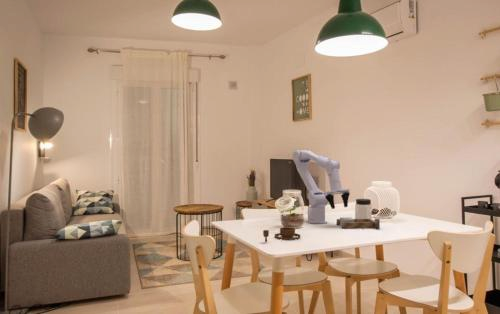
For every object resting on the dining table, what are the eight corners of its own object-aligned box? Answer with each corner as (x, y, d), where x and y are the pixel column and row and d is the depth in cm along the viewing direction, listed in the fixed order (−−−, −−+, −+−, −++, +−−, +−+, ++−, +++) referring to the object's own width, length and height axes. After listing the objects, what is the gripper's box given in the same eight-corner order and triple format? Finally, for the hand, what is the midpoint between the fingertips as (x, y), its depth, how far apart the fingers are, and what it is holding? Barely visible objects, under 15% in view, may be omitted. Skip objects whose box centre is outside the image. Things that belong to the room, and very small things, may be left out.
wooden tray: (344, 229, 210) (344, 220, 210) (336, 224, 224) (336, 215, 224) (380, 229, 211) (380, 219, 211) (370, 224, 225) (370, 215, 225)
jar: (365, 222, 232) (365, 200, 231) (352, 220, 238) (352, 199, 237) (373, 220, 238) (373, 199, 238) (361, 218, 244) (361, 198, 244)
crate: (343, 228, 216) (343, 219, 216) (339, 225, 222) (339, 217, 222) (354, 227, 216) (354, 219, 216) (350, 225, 222) (350, 217, 222)
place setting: (307, 242, 185) (307, 229, 185) (264, 245, 180) (264, 231, 180) (292, 234, 202) (292, 222, 202) (253, 237, 197) (253, 224, 197)
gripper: (326, 182, 215) (331, 208, 212) (350, 179, 219) (355, 205, 217) (320, 184, 221) (324, 210, 219) (344, 182, 226) (348, 206, 223)
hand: (339, 207), depth 218 cm, fingers open, 7 cm apart
